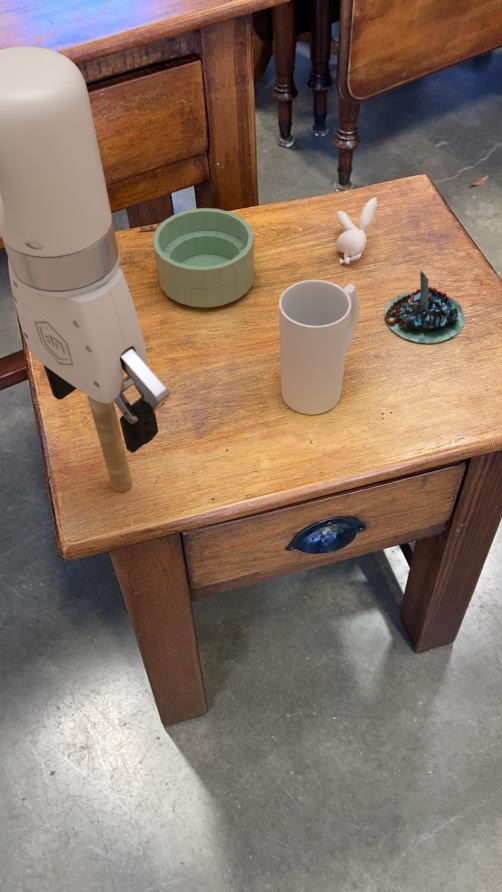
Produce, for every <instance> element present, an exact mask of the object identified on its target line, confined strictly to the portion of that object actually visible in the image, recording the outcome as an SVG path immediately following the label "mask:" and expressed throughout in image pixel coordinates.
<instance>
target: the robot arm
mask: <svg viewBox="0 0 502 892" xmlns="http://www.w3.org/2000/svg"><path fill="white" fill-rule="evenodd" d="M105 178H106V177H105V172H104V168H103V163H102V158H101V154H100V148H99V143H98V138H97V131H96V126H95V122H94V116H93V112H92V106H91V101H90V95H89V92H88V88H87V83H86V81H85V78H84V76H83V74H82V72H81V70H80V69H79V67H78V66H77V65H76V64H75V63H74V62H73V61H72V60H71V59H70V58H68V57H67V56H66V55H64V54H62V53H60V52H57V51H56V50H53V49H49V48H46V47H42V46H41V47H40V46H28V45H27V46H11V47H6V48H1V49H0V238H1V239H2V242H3V245H4V248H5V252H6V254H7V261H8V262H7V263H8V265H7V266H8V274H9V281H10V287H11V292H12V297H13V302H12V304H13V306H14V308H15V309H16V314H17V317H18V320H19V325H20V328H21V332H22V335H23V338H24V342H25V344H26V346H27V349H28V351H29V353H30V354H31V355H32V356H33V357H34V358H35V360H37V361H38V362H40V364H42V365H43V369H44V371H45V375H46V377H47V381H48V384H49V388H50V390H51V394H52V396H53V397H54V398H55V399H57V401H58V400H59V401H60V400H64V399H65V398H66V397H68V396H69V395H71V394H72V393H74V391H76V390H79V391H80V392H81V393H82V394H84V395H86V397H88V396H89V397H90V398H92V399H94V400H96V401H98V402H101V403H111V402H112V401H114V404H115V405H116V406H117V408H118V410H119V411H120V413H121V415H122V416H121V417H120V418H119V424H120V429H121V431H122V432H121V433H122V437H123V439H124V446H125V447H126V448H125V450H126V451H127V450H128V451H129V452H130V453H131V454H134V453H135V452H137V451H138V450H139V449H141V448H142V447H143V446H144V445H147V444H149V443H150V442H151V441H152V440H153V439H154V438H155V437H156V436H157V434H158V433H159V427H158V421H157V415H156V412H157V411H158V410H159V409H160V408H161V407H163V406H164V405H165V403H166V402H167V400H168V399H169V397H170V396H171V394H170V391H169V388H167V386H166V385H165V384H164V383H163V382H162V381H161V380H160V378H159V377H158V376H157V375H156V374H155V372H154V371H152V369H151V368H150V367H149V366H148V355H147V350H146V349H147V348H146V345H145V340H144V335H143V332H142V331H143V330H142V327H141V324H140V320H139V317H138V313H137V309H136V306H135V302H134V300H133V299H134V298H133V296H132V293H131V291H130V288H129V284H128V283H127V280H126V277H125V274H124V272H123V269H121V267H120V264H121V263H120V262H121V261H120V259H121V256H120V252H119V246H118V241H117V236H116V231H115V230H116V229H115V225H114V220H113V216H112V215H113V214H112V210H111V205H110V200H109V194H108V190H107V184H106V179H105ZM124 373H125V374H126V375H127V376H125V377H124ZM133 386H134V388H135V390H136V391H137V393H138V394H139V396H140V398H138V399H137V400H136V401H134V402H133V403H132V404H131V403H130V401H129V400H128V398H127V397H126V395H125V394H124V392H125V391H127V390H128V389H130V388H131V387H133Z"/></svg>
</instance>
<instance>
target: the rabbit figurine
mask: <svg viewBox="0 0 502 892" xmlns="http://www.w3.org/2000/svg"><path fill="white" fill-rule="evenodd" d="M377 207H378V199H377V197H376V196H374V197H371V198H370V199H369V200H368V201H367V202H365V205H364V206H363V208H362V210H361V212H360V216H359V220H358V226H359V228H358V227H357V226H356V225H355V224H354V223H353V221H352V220H351V219H350V217H349V214H347V213H346V212H345V211H342V210H338V211H337V212H336V219H337V222H338V224H339V226H340V227H341V229H343V230H344V232H342V233H341V234H340V235H339V236H337V239H336V242H335V247H336V249H337V251H338V252H340V253H342V254H343V258H344V259H342V258H339V266H341V265H343V264H345V265H349V264H350V262H354V261H357V260H360V259H361V257H362V253H363V252H364V250H365V249H366V246H367V235H366V233H365V231H366V230H368V229H369V228H370V227H371V225H372V224H373V220H374V217H375V215H376V211H377Z"/></svg>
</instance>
